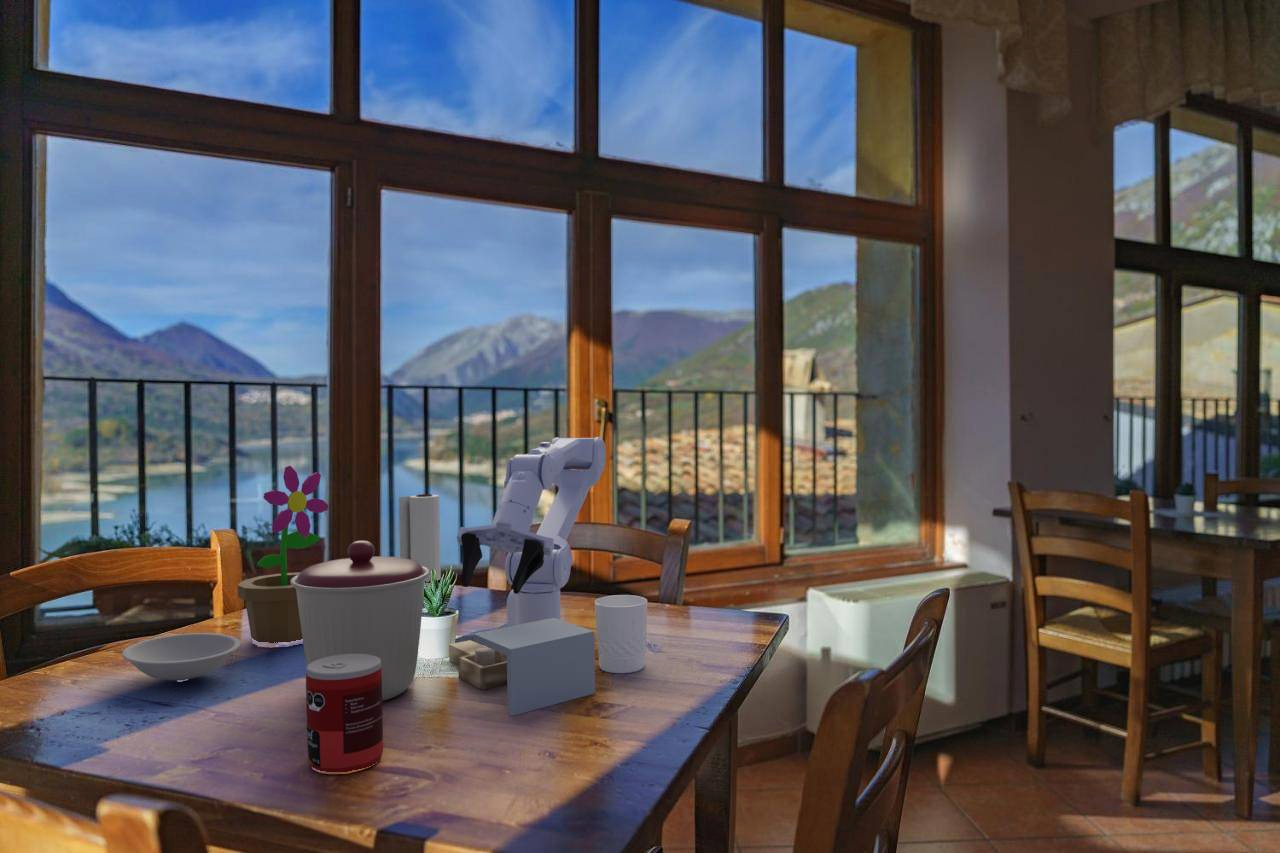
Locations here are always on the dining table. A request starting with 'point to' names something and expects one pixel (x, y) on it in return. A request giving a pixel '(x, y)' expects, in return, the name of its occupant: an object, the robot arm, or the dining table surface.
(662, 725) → the dining table surface
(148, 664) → the dish
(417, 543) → the paper towel roll
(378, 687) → the canned food
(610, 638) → the white cup
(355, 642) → the canister
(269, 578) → the flowerpot
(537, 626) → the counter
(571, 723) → the dining table surface
